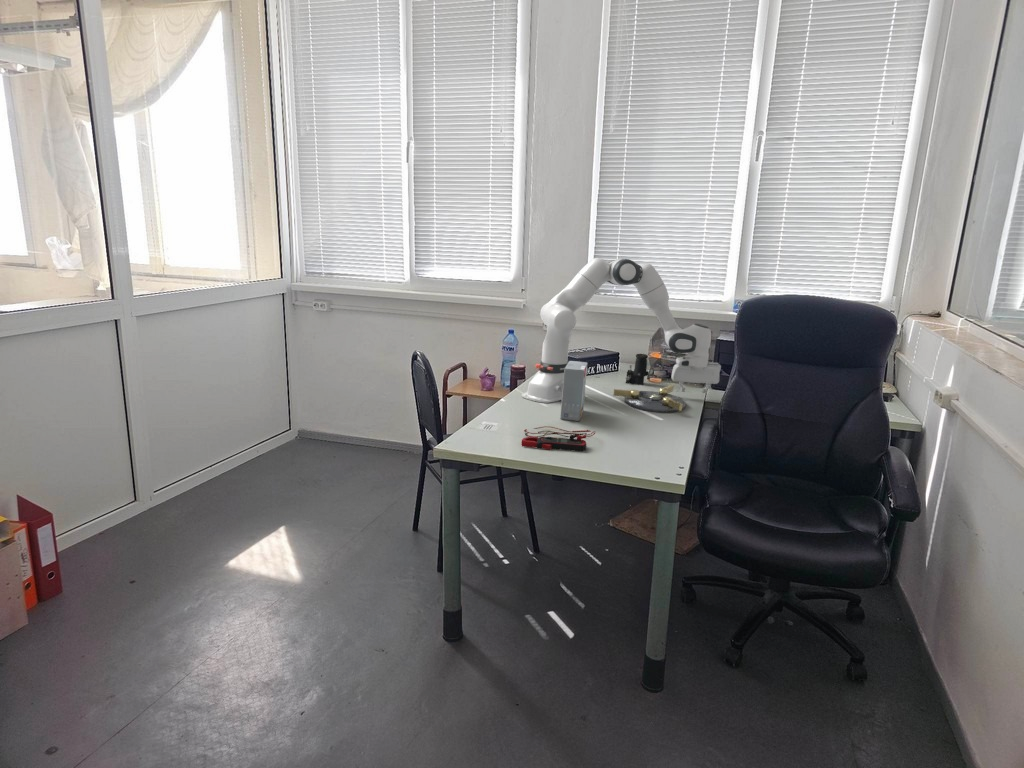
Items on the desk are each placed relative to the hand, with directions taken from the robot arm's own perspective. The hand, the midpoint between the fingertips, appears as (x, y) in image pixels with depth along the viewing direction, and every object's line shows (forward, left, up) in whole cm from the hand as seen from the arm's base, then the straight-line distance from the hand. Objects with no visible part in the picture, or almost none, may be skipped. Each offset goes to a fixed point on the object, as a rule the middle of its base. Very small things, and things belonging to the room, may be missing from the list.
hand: (693, 392), depth 278 cm
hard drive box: (-59, +25, -3) cm, 64 cm away
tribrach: (-21, +9, -3) cm, 23 cm away
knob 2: (-27, -2, -1) cm, 27 cm away
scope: (+5, +30, -3) cm, 30 cm away
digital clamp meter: (-86, +14, -4) cm, 88 cm away
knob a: (-9, +9, -1) cm, 12 cm away
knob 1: (-27, +19, -1) cm, 33 cm away
